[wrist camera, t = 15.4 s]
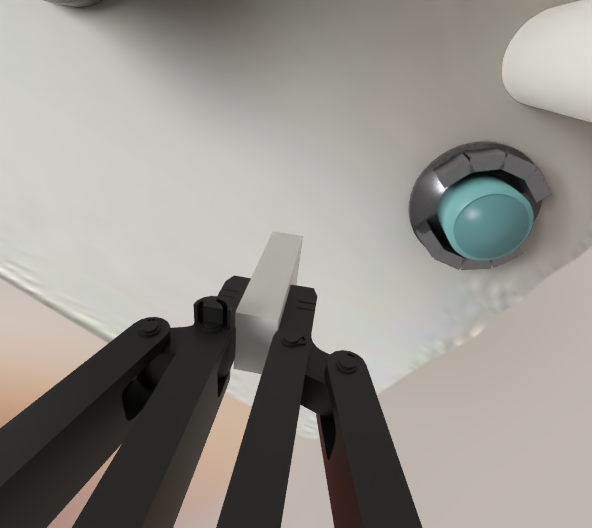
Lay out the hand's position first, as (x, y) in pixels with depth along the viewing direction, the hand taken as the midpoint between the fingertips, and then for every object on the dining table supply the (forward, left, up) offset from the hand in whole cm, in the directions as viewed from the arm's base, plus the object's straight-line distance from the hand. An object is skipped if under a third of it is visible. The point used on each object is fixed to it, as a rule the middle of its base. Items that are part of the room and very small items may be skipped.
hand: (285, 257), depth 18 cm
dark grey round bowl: (+4, +18, -26) cm, 32 cm away
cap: (+4, +18, -25) cm, 31 cm away
